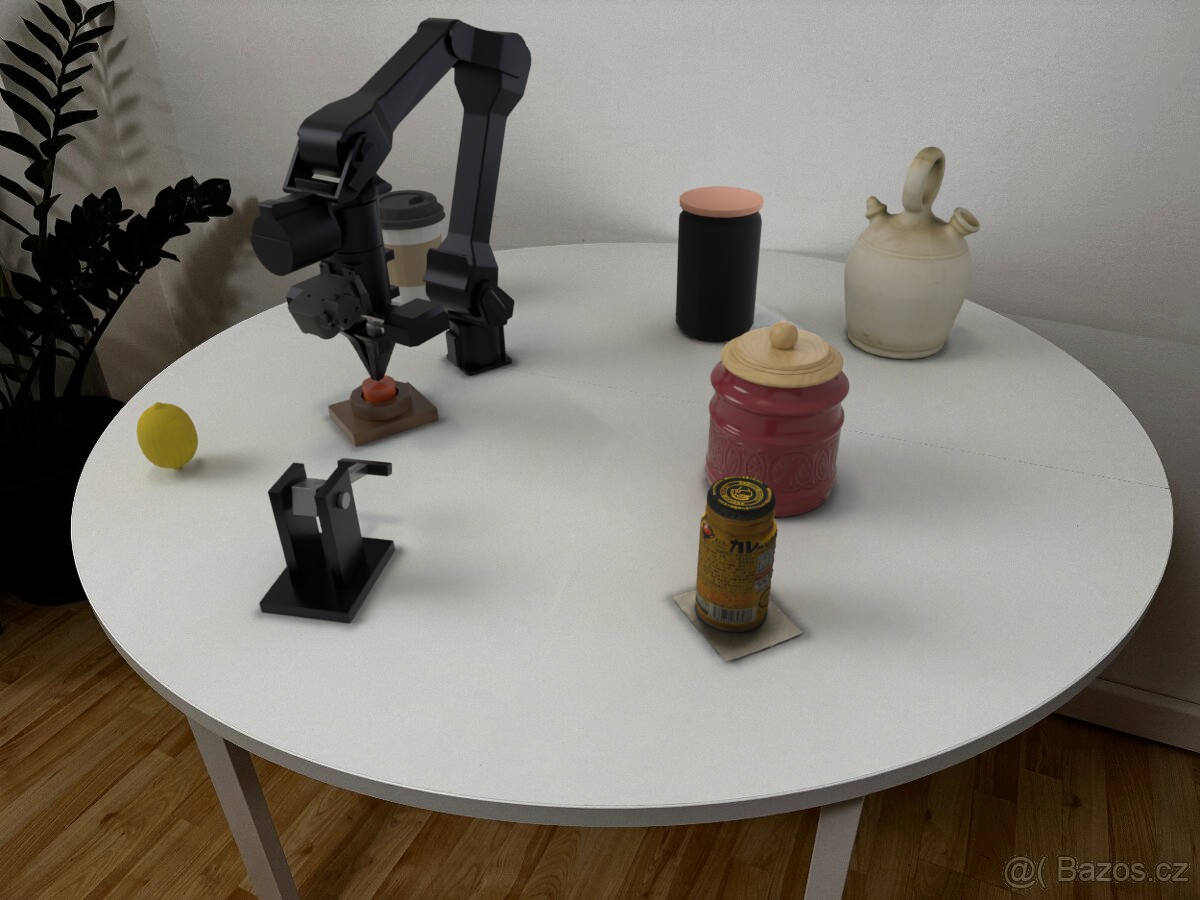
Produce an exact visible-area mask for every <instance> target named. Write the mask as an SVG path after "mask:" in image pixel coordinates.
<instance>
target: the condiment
mask: <svg viewBox="0 0 1200 900" xmlns="http://www.w3.org/2000/svg"><path fill="white" fill-rule="evenodd" d="M775 503H776V499H775V496H774V492H773V490H772V489H771V488H770V487H769V486H768V485H766V484H765V483H763V482H762V481H760V480H757V479H755V478H751V477H745V476H729V477H726V478H723V479H718V481H716V482H715V483H713V484H712V486H711V487H710V486H709V489H708V491H707V493H706V503H705V508H704V512H703V514H702V516H701V519H700V526H699V537H698V538H699V539H698V551H697V569H696V583H695V589H694V590H689V591H686V592H683V593H680V594H677V595H675V596H671V598H672V599H673V600H674V602H675V603H676V604H677V605H678V607H679V608H680V610H682V612H683V613H684V614H685V615H686V617H687V618H688V619H689V620H690V621H691V622H692V624H693V625H694V626H695V627H696V628H697V629H698V631H700V632H701V633H702V634H703V635H704V637H705V638H706V640H707V641H708V642H709V643H710V645H711V646H712V647H713V648H714V649H715V650H716V652H718V653H719V654H720V656H721V657H722V659H724V660H725V662H729V661H731V660H735V659H739V658H742V657H744V656H747V655H750V654H753V653H756V652H759V651H761V650H764V649H767V648H772V647H773V646H775V645H777V644H779V643H781V642H785V641H788V640H791V639H792V638H794V637H796V636H799V635H802V634H803V632H802V631H801V630H800V629H799V628H798V626H797V625H796V624H794V623H793V621H791V619H790V618H789V617H788V616H787V615H786V614H784V612H783V611H782V609H780V608H779V607H778V606H777V605H775V604H774V603H773V601H771V599H770V596H771V589H772V578H773V573H774V562H775V554H776V548H777V537H778V527H777V522H776V520H775V517H776V516H775V511H774V507H775Z"/></svg>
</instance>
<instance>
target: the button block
mask: <svg viewBox="0 0 1200 900" xmlns="http://www.w3.org/2000/svg"><path fill="white" fill-rule="evenodd" d="M394 381H395V387H396V396H395V397H394V398H392V399H390V400H387V401H384V402H369V401H366V400H365V399H364V394H363V388H362V384H360V385H359V386H358V387H357V386H356V388H354V389H353V390H351V393H350V397H349V398H348V399H346V400H342V401H339V402H335V403H333V404H328V406H327V409H328V414H329V418H330V419H331V420H332V422H333V423H334V424H335V425H336V426H337V428H338V429H340V431H341V432H342V433H343V434H344V436H345V437H346V438H347V440H349V441H350V443H351V444H352V445H353V446H354V447H355V448H357V447H360V446H363V445H366V444H370V443H371V442H375V441H379V440H382V439H385V438H388V437H391V436H394V435H397V434H400V433H404V432H406V431H410V430H412V429H416V428H419V427H422V426H425V425H429V424H433V423H436V422H439V420H440V419H439V411H438V408H437V407H436V406H435V405H434V404H433V403H432V402H431V401H430V400H428V398H426V396H425V395H423V393H421V391H419V390H418V389H417V388H416V387H414V386H413V384H412V383H410V382H409V381H407V382H403V381H399V380H396V379H394Z"/></svg>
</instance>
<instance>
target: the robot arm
mask: <svg viewBox="0 0 1200 900" xmlns="http://www.w3.org/2000/svg"><path fill="white" fill-rule="evenodd" d="M531 67H532V53H531V50H530V48H529V46H527V43H526V41H525V39H524V38H523V36H522V35H521V34H519V33H518V32H512V31H501V30H500V31H499V30H487V29H483V28H479V27H477V26H474V25H471V24H469V23H467V22H464V21H463V20H461V19H459V18H446V17H427V18H426V19H424V20H422V21H420V23H419V24H418V26H417V28H416V32H415V33H414V34H413V35H412V36H411V37H410V38H408V40H407V41H406V42H405V43H404V44H403V45H402V46H401V47H399V49H397V51H396V52H395V53H394V54H393V55H392V56H391V57H390V58H389V59H388V60H387V61H385V63H384V64H383V65H382V66H381V67H380V68H379V69H378V70H377V71H376V72H375V73H374V74H373V75H372V76H371V77H369V79H368V80H367V81H366V82H365V83H364V84H363V85H362V86H361V87H360V88H359V89H358V90H357V91H355V92H354V93H352V94H351V95H349V96H346V97H343V98H341V99H337V100H335V101H332V102H329V103H327V104H325V105H324V106H322V107H321V108H319V109H318V110H316V111H314V112H313V113H311V114H310V115H309V116H307V117H306V118H304V119H303V121H302V122H301V124H300V125H299V127H298V130H297V132H296V135H297V137H298V139H297V141H296V144H295V148H294V151H293V155H292V158H291V160H290V163H289V166H288V170H287V173H286V176H285V179H284V181H283V185H282V191H283V193H284V194H288V195H285V196H282V197H278V198H269V199H266V200H262V201H259V202H258V204H257V207H258V212H259V216H257V217H255V219H254V220H253V223H252V225H251V234H250V236H249V239H250V243H251V246H252V249H253V252H254V254H255V256H256V258H257V259H258V261H259V262H260V264H261V265H262V266H263V267H264V269H266V270H267V271H268V272H269V273H271V274H273V275H275V276H277V277H285V276H287V275H290V274H292V273H295V272H298V271H299V270H302V269H305V268H307V267H309V266H312V265H314V264H316V263H318V268H319V274H317V275H314V276H311V277H309V278H306V279H305V280H303V281H300V282H298V283H296V284H295V283H294V284H293V285H291V286H290V287H289V289H288V291H287V294H286V296H285V298H286V303H287V310H288V313H290V315H291V317H292V318H293V320H294V321H295V323H296V324H297V326H298V328H299V329H300V331H301V333H303V334H305V335H308V334H309V335H313V336H316V337H318V338H320V339H321V340H331V339H334V338H335V337H337V335H339V334H340V335H342V336H344V337H345V338H347V340H348V341H349V343H350V344H351V346H352V347H353V349H354V350H355V352H356V354H357V355H358V357H359V359H360V361H361V363H362V364H363V366H364V368H365V370H366V372H367V374H368V375H369V377H371V379H372V380H375V381H380V380H381V379H383V378H384V376H385V375H386V373H387V370H388V367H389V363H390V360H391V358H392V355H393V352H394V349H395V347H396V344H397V345H401V346H404V347H408V348H416V347H419V346H422V345H423V344H424V343H426V342H428V341H430V340H432V339H434V338H435V337H437V336H439V335H441V334H442V333H445V340H446V341H445V342H446V349H447V353H446V359H447V360H448V361H449V362H450V363H452V365H454V366H455V367H457V369H459V370H460V371H462V372H463V373H464V374H465V375H466V376H474V375H477V374H480V373H483V372H486V371H490V370H493V369H496V368H499V367H504V366H506V365H509V364H512V363H513V358H512V357H511V356H509V355H508V354H507V350H506V340H505V339H506V338H505V326H506V325H508V321H509V320H510V319H511V318H513V315H514V309H515V302H516V301H515V299H513V297H511V295H509V294H508V293H507V292H505V291H504V290H503V289H502V288H501V287H500V286H499V264H498V263H497V262H498V261H497V260H496V257H495V255H494V252H493V250H492V246H491V244H490V243H491V242H490V239H491V232H492V224H493V219H494V212H495V211H494V210H495V203H496V199H497V198H496V195H497V191H498V182H499V177H500V167H501V161H502V155H503V146H504V141H505V134H506V126H507V121H508V117H509V116H510V114H512V112H513V110H514V109H515V108H516V107H517V105H518V104H519V103H520V101H521V100H522V99H523V97H524V95H525V91H526V87H527V83H528V79H529V76H530V72H531ZM451 69H453V83H454V87H455V89H456V92H457V94H458V98H459V100H460V102H461V105H462V108H463V115H462V120H461V121H462V123H461V131H460V137H459V145H458V146H459V147H458V153H457V159H456V160H457V161H456V169H455V176H454V182H453V183H454V185H453V191H452V199H451V200H452V201H451V206H450V213H449V214H450V215H449V221H448V230H447V234H446V237H445V238H444V240H443V241H441V245H440V246H439V247H438V249H435V248H430V249H429V250H428V253H427V264H426V271H425V275H424V277H423V282H426V285H425V291H426V296H427V297H429V299H430V301H427V300H423V299H419V298H415V299H413V300H411V301H409V302H408V303H406V304H401V303H397V302H393V301H392V299H394V298H396V297H398V296H400V291H399V287H398V286H394V285H390V280H389V273H388V267H387V262H389V261H391V260H393V259H395V256H394V250H393V249H389V248H385V246H384V240H383V233H382V226H381V219H380V213H379V206H378V199H377V196H379V195H382V194H384V193H387V192H392V190H393V185H392V184H391V183H390V182H388V181H387V180H386V179H384V178H382V177H381V176H379V174H378V172H379V170H380V168H381V166H382V165H383V163H384V162H385V160H386V159H387V157H388V156H389V154H390V153H391V151H392V149H393V138H394V132H395V131H396V129H397V128H398V126H399V125H400V124H401V122H403V120H404V119H405V118H406V117H407V116H408V115H409V114H410V113H411V112H412V111H413V110H414V109H415V108H416V107H417V105H418V104H419V103H420V102H421V101H423V99H424V98H425V97H426V96H427V95H428V94H430V92H431V91H432V89H433V88H435V87H436V85H437V84H438V83H439V82H440V81H441V80H442V79H443V78H444V77H445V76H446V75H447V74H448V72H450V70H451ZM314 175H319V176H324V177H330V178H335V179H339V182H337V181H331V180H325V179H321V178H315V177H314Z"/></svg>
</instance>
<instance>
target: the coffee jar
mask: <svg viewBox="0 0 1200 900" xmlns="http://www.w3.org/2000/svg"><path fill="white" fill-rule="evenodd" d="M763 206H764V197H763V196H762V195H761V194H760V193H758V192H756V191H753V190H750V189H747V188H742V187H735V186H720V185H719V186H718V185H717V186H703V187H697V188H692V189H689V190H687V191H683V193H682V194H681V195H679V207H680V208H681V209H682V210H681V212H680V213H679V216H678V233H677V234H678V237H677V262H676V263H677V265H676V266H677V268H676V294H675V295H676V298H675V322H676V325H677V327H678V328H679V330H680V332H681V333H682V334H683V335H685V336H686V337H688V338H690V339H693V340H696V341H699V342H705V343H717V344H718V343H719V344H720V343H728V342H729V341H731V340H733V339H735V338H737V337H739V336H742V335H743V334H745V333H747V332H749V331H751V328H752V327H753V325H754V324H755V311H756V300H757V299H756V298H757V289H758V288H757V285H758V276H759V275H758V273H759V263H760V252H761V250H760V249H761V240H762V239H761V238H762V225H763V219H762V215H761V213H760V211H761V209H762V208H763Z"/></svg>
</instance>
